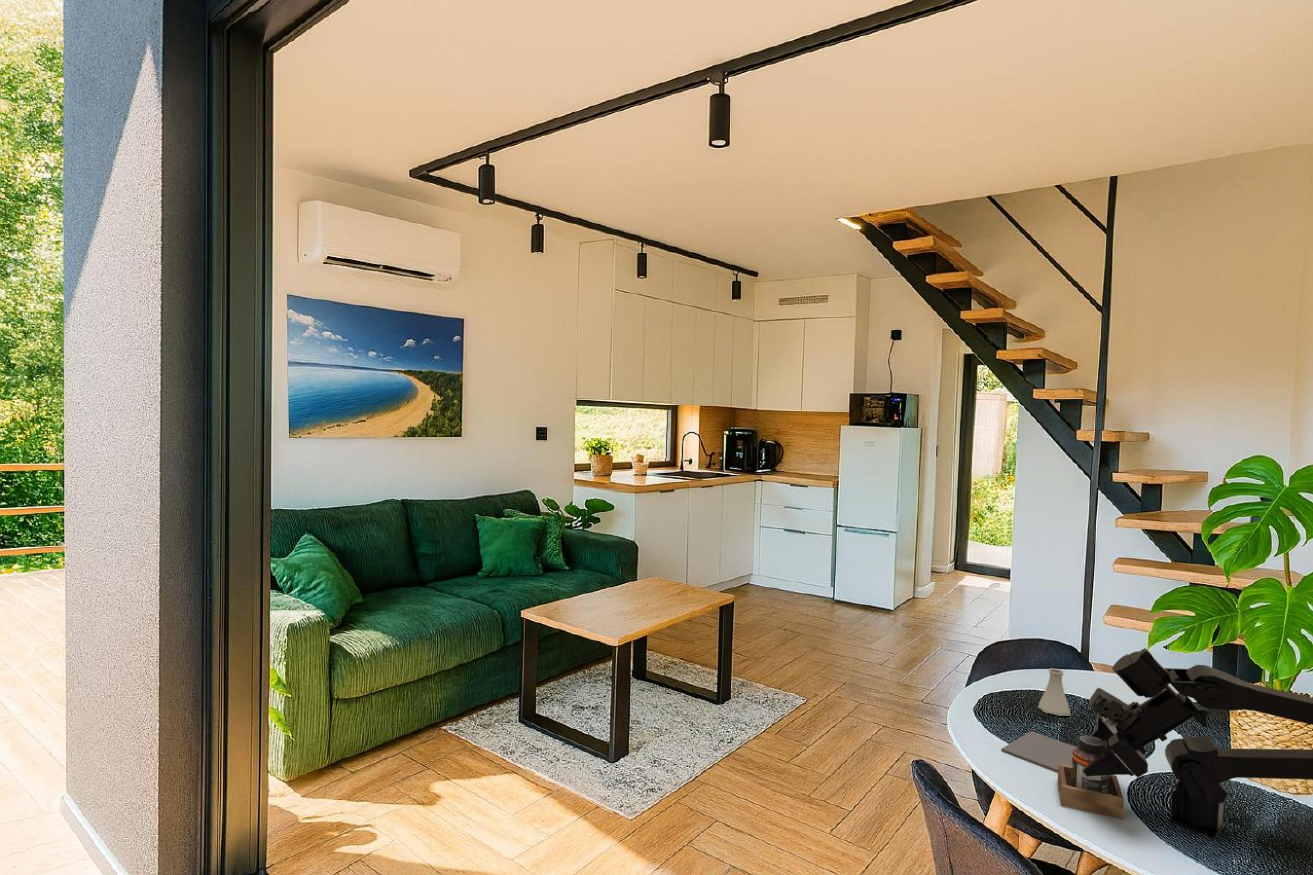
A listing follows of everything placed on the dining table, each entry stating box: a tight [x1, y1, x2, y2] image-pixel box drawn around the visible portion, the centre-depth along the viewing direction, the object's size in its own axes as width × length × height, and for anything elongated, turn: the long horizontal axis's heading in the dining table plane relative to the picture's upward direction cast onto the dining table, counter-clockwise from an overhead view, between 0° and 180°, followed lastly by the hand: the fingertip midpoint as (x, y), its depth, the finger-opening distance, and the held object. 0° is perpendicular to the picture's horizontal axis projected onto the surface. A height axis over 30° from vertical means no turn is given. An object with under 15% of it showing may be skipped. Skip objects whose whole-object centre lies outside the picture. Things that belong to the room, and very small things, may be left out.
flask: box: [1037, 668, 1071, 717], centre depth 175 cm, size 7×7×10 cm
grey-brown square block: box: [1000, 731, 1076, 774], centre depth 153 cm, size 14×14×1 cm
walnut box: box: [1057, 764, 1125, 820], centre depth 135 cm, size 10×10×4 cm
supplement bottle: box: [1071, 734, 1109, 795], centre depth 135 cm, size 6×6×11 cm
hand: (1082, 762), depth 136 cm, fingers open, 9 cm apart
